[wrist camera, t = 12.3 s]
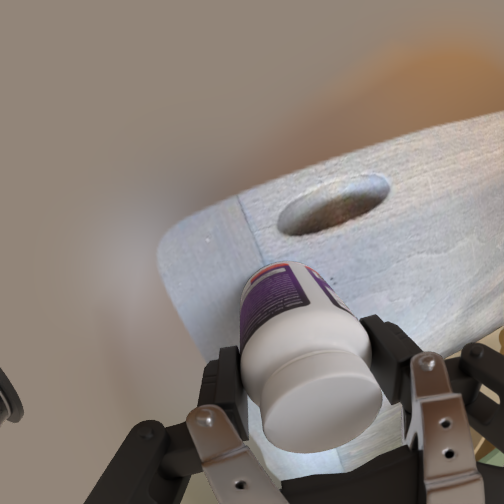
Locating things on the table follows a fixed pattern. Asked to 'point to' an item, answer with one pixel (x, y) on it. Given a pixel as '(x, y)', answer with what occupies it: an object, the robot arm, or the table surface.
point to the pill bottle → (305, 360)
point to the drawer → (486, 392)
